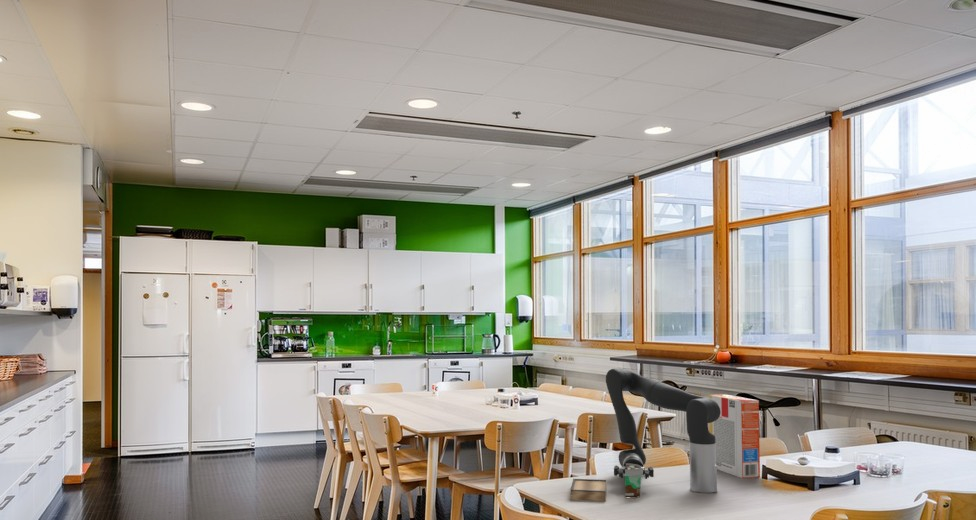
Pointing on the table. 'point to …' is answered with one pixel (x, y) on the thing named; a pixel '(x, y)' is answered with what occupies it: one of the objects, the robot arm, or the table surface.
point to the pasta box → (737, 435)
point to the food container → (632, 480)
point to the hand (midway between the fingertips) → (634, 475)
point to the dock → (588, 490)
